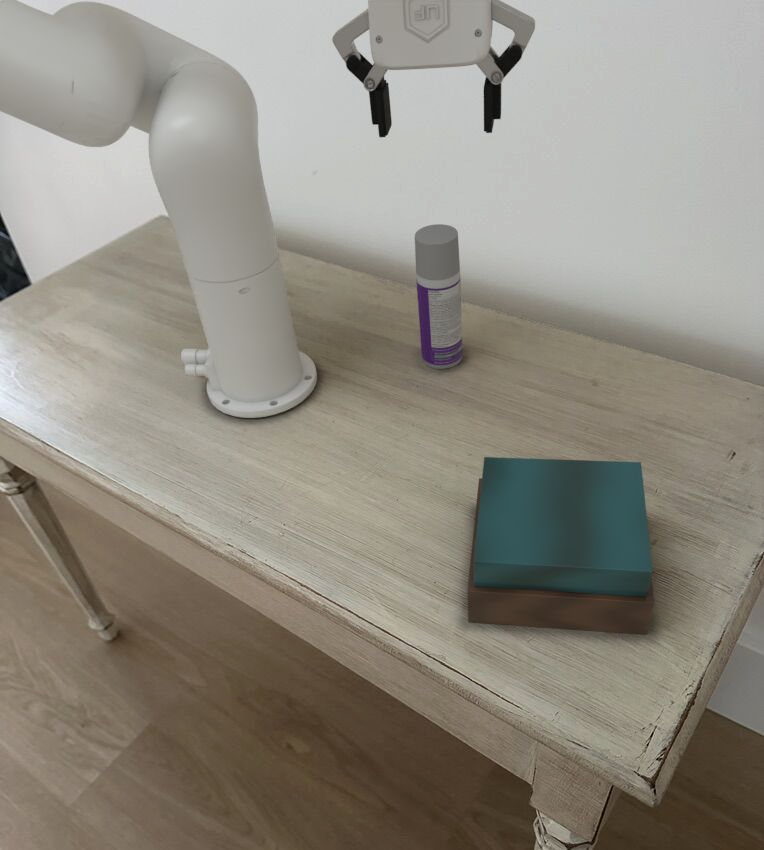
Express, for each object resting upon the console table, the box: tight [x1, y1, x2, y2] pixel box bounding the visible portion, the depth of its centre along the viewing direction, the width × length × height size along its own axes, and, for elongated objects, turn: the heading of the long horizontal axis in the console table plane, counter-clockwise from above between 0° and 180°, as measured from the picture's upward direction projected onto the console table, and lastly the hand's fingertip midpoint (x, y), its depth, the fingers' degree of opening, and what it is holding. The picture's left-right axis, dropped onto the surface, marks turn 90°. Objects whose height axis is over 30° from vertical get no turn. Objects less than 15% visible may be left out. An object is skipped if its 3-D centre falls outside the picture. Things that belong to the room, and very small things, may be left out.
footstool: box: [466, 456, 655, 635], centre depth 65 cm, size 14×13×7 cm
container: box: [414, 223, 463, 370], centre depth 86 cm, size 5×5×15 cm
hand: (436, 129), depth 73 cm, fingers open, 9 cm apart
